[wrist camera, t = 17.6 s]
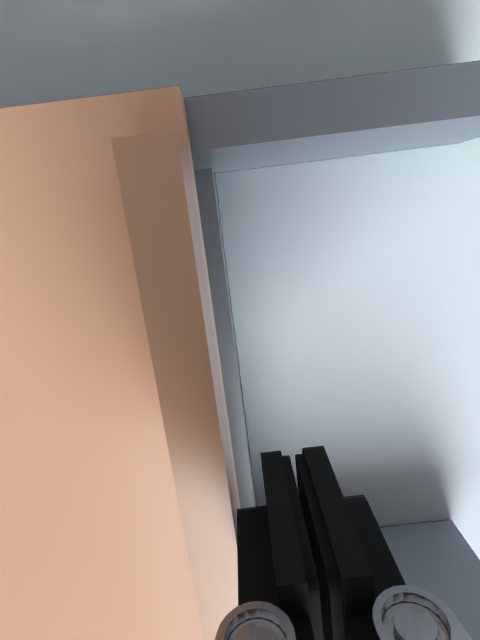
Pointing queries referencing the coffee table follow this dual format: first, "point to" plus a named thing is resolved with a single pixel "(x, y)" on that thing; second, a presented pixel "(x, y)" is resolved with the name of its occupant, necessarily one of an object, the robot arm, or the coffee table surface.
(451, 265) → the coffee table surface
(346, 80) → the housing
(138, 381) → the lid
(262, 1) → the coffee table surface
